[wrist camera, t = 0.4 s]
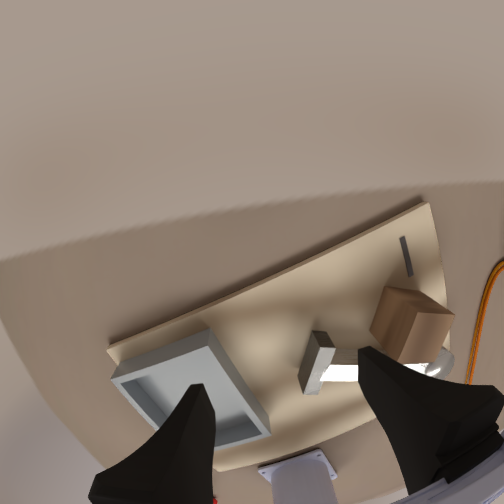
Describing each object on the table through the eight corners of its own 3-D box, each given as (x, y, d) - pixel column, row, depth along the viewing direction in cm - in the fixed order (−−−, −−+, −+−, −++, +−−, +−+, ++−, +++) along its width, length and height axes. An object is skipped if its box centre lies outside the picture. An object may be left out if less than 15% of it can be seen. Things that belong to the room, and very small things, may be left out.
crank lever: (444, 333, 22) (461, 348, 19) (427, 370, 23) (441, 386, 20) (310, 327, 21) (320, 348, 18) (296, 372, 22) (303, 396, 19)
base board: (446, 368, 25) (450, 372, 24) (218, 467, 26) (218, 472, 25) (423, 201, 20) (429, 202, 19) (109, 345, 21) (105, 350, 20)
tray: (268, 416, 23) (271, 435, 21) (186, 439, 24) (184, 457, 21) (210, 327, 20) (207, 345, 18) (119, 362, 21) (110, 379, 18)
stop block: (420, 290, 21) (455, 314, 16) (405, 332, 22) (434, 361, 17) (384, 285, 20) (417, 312, 16) (368, 330, 21) (396, 364, 16)
